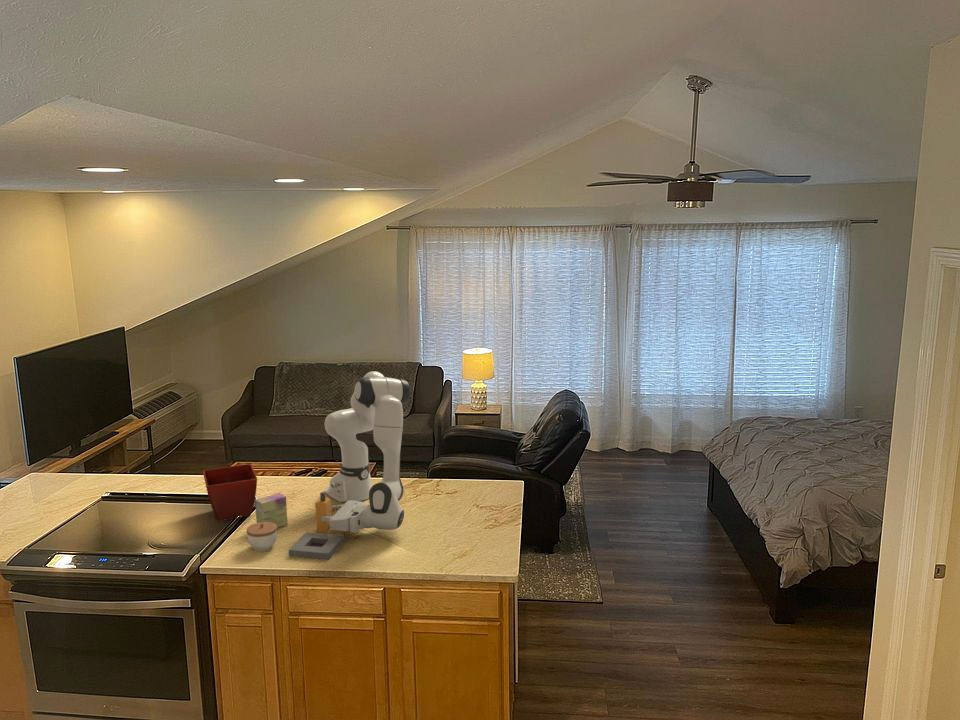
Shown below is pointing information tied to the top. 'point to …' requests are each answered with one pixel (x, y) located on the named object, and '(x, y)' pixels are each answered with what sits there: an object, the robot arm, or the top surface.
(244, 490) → the plant pot
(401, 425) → the robot arm
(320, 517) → the plug
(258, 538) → the lidded jar
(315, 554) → the socket
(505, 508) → the top surface
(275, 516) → the box
